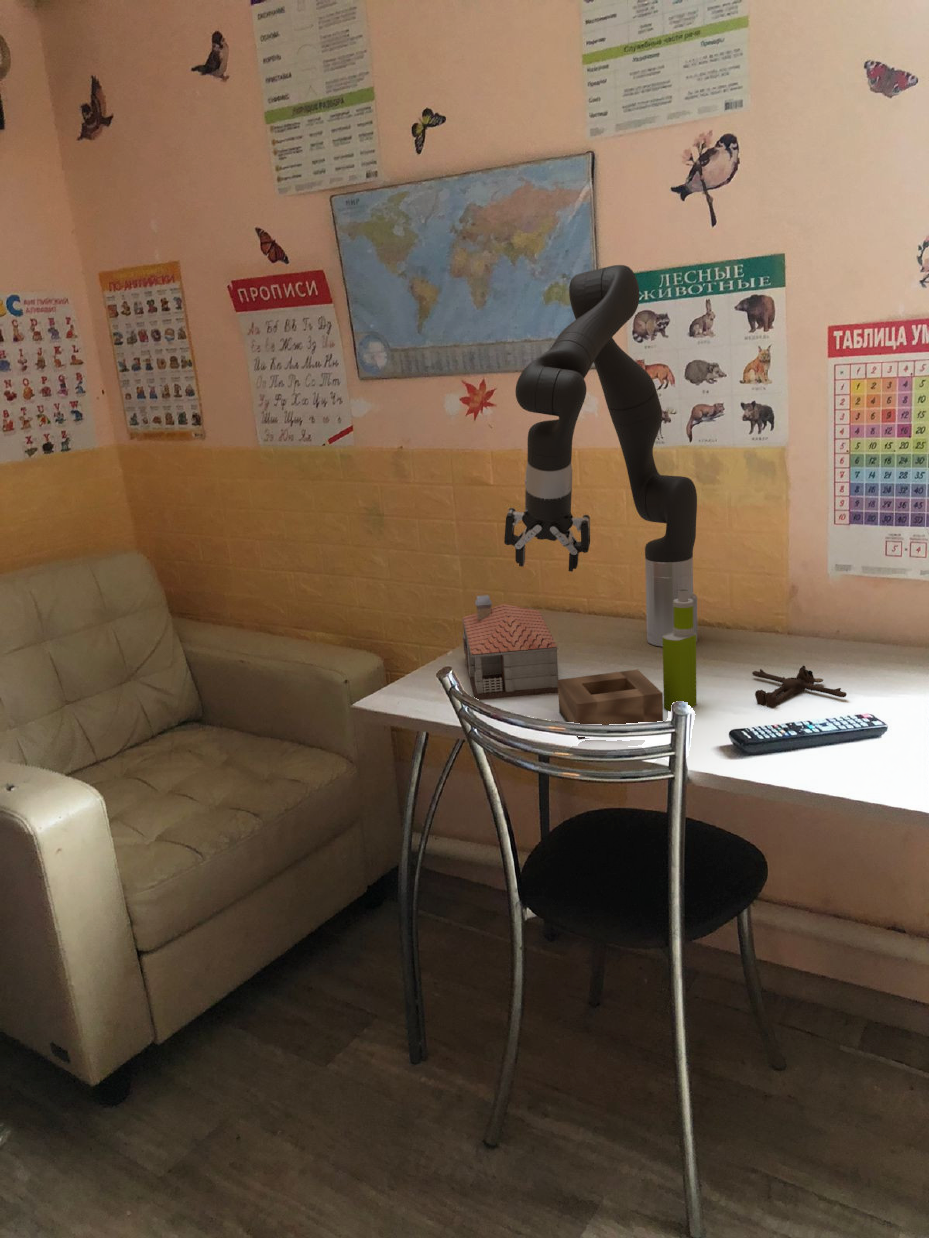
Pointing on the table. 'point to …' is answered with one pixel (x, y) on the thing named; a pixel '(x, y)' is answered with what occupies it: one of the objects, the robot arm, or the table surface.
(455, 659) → the table surface
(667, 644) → the vape
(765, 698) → the brown humanoid figurine
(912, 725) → the table surface
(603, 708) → the dock
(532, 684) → the model house
